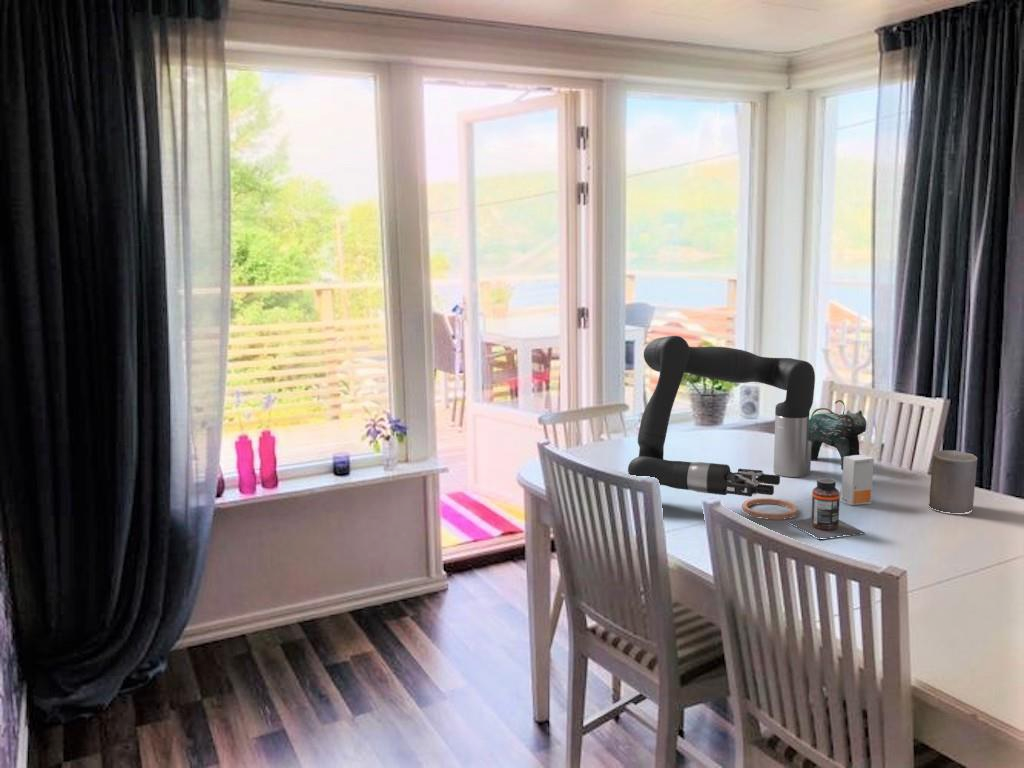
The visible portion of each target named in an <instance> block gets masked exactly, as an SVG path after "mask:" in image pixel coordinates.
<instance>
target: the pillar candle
mask: <svg viewBox="0 0 1024 768" xmlns="http://www.w3.org/2000/svg"><path fill="white" fill-rule="evenodd" d="M977 464H978V457H977V456H976V455H974V454H973V453H968V452H966V451H965V452H964V451H959V450H958V451H957V450H956V449H954V450H945V449H943V450H937V451H934V452H933V453H932V461H931V473H930V474H931V475H930V487H929V503H928V505H929V506H930V507H931V508H933V509H936V510H939V511H943V512H950V513H965V512H969V511H971V510H973V509H974V503H975V502H974V501H975V488H976V477H977V467H978V465H977ZM929 506H928V507H929ZM930 507H929V508H930ZM931 508H930V509H931ZM973 511H974V510H973Z"/></svg>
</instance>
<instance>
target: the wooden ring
mask: <svg viewBox="0 0 1024 768" xmlns="http://www.w3.org/2000/svg"><path fill="white" fill-rule="evenodd" d="M757 503H771V504H770V505H776V504H778V506H781V505H784V506H783V507H785V506H787V507H789V508H791V509H792V510H791V509H790V511H787V512H780V513H770V512H769V513H768V512H761V511H758V510H755V509H754V510H753V509H751V508H750V506H749V505H751V506H752V504H754V505H758V504H757ZM787 507H786V508H787ZM789 508H788V509H789ZM742 509H743V510H742ZM741 510H742V511H744V512H746V513H747V514H746V513H745V514H746V515H748V514H749V515H748V516H750V515H751V516H750V517H753V516H754V517H753V518H756V517H762V518H768V519H767V520H769V519H782V520H785V519H784V518H789V519H791V518H790V517H792V518H794V517H793V516H795V515H796V514H798V513H797V512H798V510H799V509H798V506H797V505H796V504H795V503H793V502H790V501H788V500H784V499H782V498H781V499H780V498H772V497H757V498H750V499H747V500H744V501H743V503H742V504H741ZM744 512H743V513H744ZM796 516H797V515H796ZM796 516H795V517H796Z"/></svg>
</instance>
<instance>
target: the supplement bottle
mask: <svg viewBox="0 0 1024 768" xmlns="http://www.w3.org/2000/svg"><path fill="white" fill-rule="evenodd" d="M811 494H812V498H811V519H812V520H811V521H812V526H814V527H815V528H817V529H821V530H834V529H836V528H838V523H839V520H840V518H839V517H840V501H841V498H840V497H841V495H840V490H839V489H838V488H837V487H836V480H835V479H833V478H828V477H827V478H826V477H821V478H820V477H819V478H817V480H816V486H815V487H814V488H813V489H812V493H811Z"/></svg>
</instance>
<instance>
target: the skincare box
mask: <svg viewBox="0 0 1024 768" xmlns="http://www.w3.org/2000/svg"><path fill="white" fill-rule="evenodd" d="M874 460H875V458H873V457H870V456H869V455H866V454H860V455H852V456H846V457H844V460H843V470H842V479H841V495H840V497H841V498H840V501H841V502H842V501H843V503H845V504H847V505H849V506H851V505H852V506H859V505H867V503H870V504H871V503H872V491H873V476H874V463H875V461H874Z"/></svg>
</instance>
